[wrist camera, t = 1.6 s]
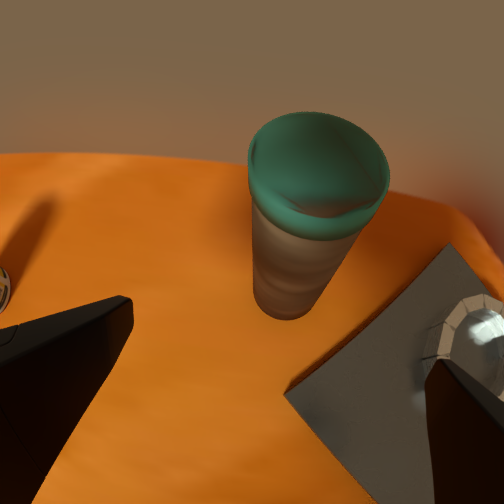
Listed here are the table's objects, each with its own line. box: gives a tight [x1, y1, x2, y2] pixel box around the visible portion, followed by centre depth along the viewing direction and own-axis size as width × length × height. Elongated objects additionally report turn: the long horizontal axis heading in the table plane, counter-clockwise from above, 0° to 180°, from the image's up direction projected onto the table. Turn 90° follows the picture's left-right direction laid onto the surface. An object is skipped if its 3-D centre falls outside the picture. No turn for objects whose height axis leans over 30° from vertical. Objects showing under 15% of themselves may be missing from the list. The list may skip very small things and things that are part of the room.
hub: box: [284, 242, 504, 504], centre depth 17 cm, size 15×17×3 cm
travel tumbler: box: [248, 112, 390, 320], centre depth 15 cm, size 5×5×13 cm
